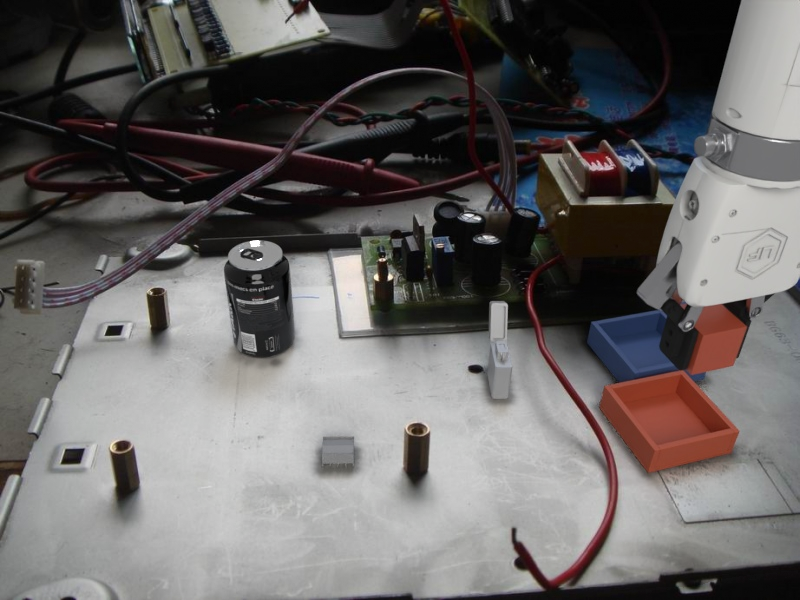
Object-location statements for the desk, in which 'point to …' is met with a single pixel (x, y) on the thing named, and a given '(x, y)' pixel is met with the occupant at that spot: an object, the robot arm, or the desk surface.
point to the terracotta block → (716, 339)
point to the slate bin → (633, 346)
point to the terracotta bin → (667, 420)
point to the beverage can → (260, 299)
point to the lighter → (499, 351)
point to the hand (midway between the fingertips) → (698, 352)
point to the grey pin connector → (337, 450)
